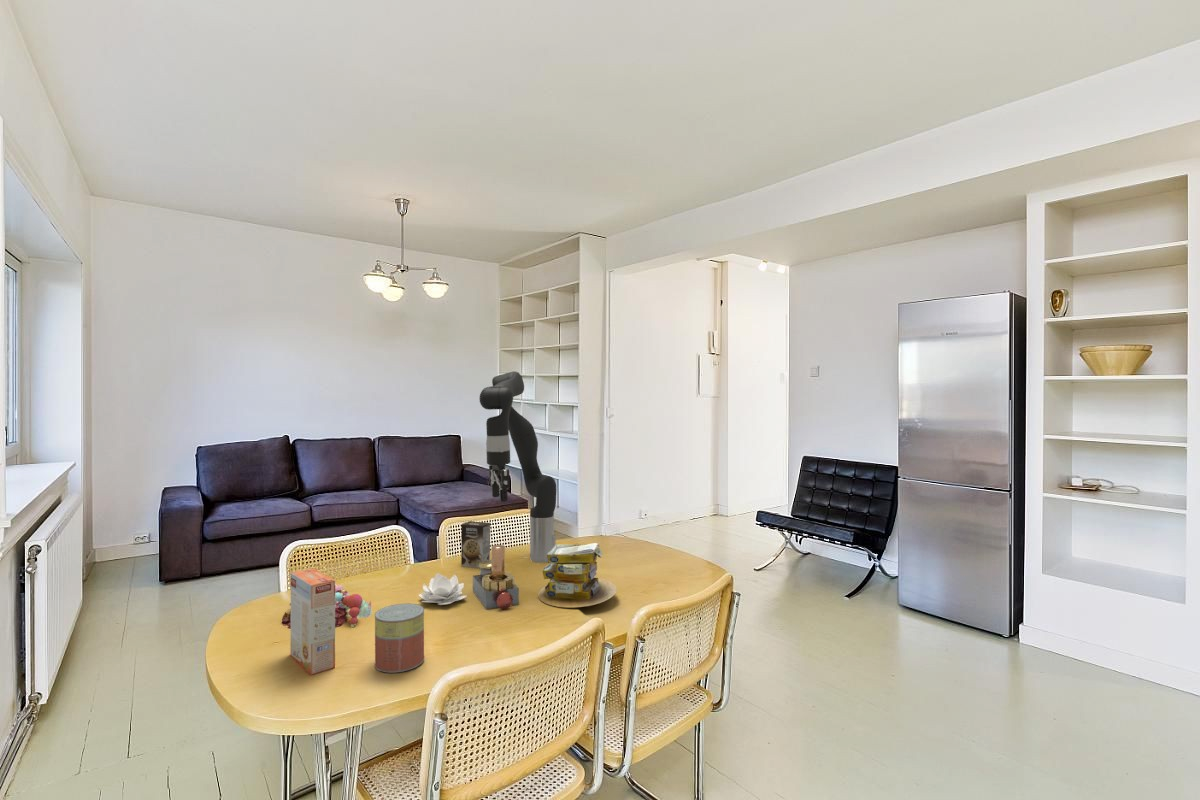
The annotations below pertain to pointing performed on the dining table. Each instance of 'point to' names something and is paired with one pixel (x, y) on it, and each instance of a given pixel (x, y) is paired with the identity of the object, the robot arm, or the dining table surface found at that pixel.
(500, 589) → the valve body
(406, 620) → the canned food
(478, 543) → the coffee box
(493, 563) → the copper pipe
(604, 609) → the dining table surface
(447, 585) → the lotus flower
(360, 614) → the candy landscape model
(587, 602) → the stacked food boxes
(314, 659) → the cracker box
